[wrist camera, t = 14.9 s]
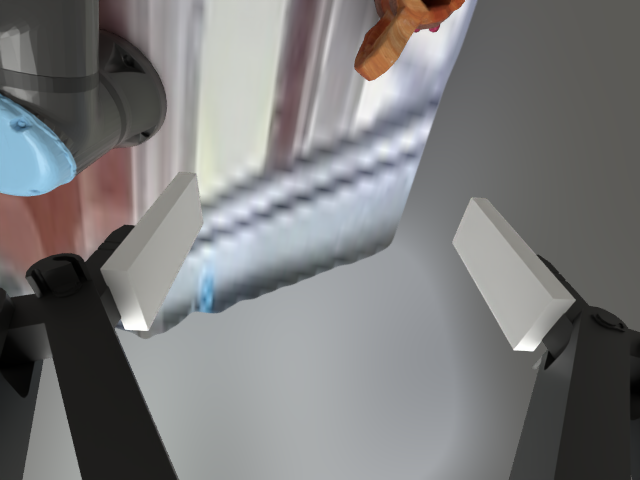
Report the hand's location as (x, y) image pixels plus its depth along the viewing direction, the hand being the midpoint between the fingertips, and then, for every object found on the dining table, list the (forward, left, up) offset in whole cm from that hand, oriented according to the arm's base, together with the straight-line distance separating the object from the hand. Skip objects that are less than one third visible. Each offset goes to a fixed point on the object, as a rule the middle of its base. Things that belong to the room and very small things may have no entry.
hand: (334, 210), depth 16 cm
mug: (+8, +8, -37) cm, 39 cm away
